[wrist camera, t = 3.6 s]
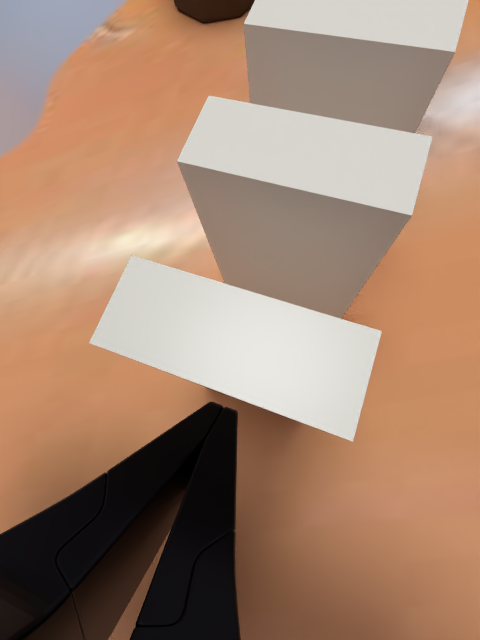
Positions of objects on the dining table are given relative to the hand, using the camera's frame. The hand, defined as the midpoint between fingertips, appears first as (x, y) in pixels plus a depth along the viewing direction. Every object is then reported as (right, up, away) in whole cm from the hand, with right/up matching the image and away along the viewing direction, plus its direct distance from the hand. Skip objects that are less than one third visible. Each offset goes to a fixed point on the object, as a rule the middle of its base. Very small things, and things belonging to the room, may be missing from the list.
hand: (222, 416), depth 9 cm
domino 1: (+1, -1, +7) cm, 8 cm away
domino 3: (+5, +8, +9) cm, 13 cm away
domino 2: (+3, +3, +8) cm, 10 cm away
